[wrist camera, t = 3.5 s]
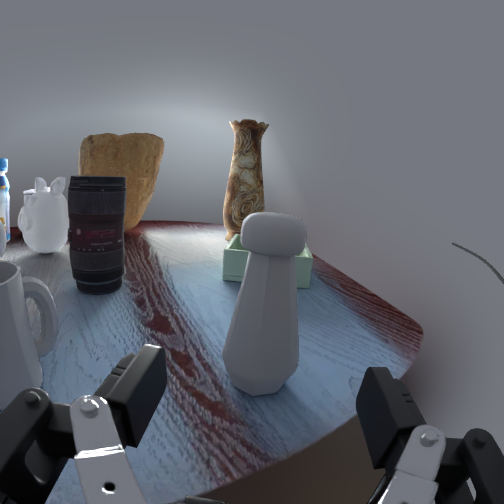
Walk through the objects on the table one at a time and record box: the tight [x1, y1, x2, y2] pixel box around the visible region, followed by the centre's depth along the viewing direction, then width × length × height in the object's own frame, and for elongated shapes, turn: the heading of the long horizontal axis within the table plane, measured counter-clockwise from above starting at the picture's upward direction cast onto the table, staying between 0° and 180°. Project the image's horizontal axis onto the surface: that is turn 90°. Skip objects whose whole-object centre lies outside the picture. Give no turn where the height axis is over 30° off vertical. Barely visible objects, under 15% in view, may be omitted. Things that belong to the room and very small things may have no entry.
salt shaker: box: [222, 212, 307, 396], centre depth 20 cm, size 6×6×13 cm
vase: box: [223, 119, 269, 241], centre depth 72 cm, size 10×11×30 cm
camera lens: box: [67, 176, 127, 294], centre depth 35 cm, size 8×8×15 cm
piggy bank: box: [18, 177, 69, 253], centre depth 46 cm, size 12×12×15 cm
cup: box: [0, 260, 58, 411], centre depth 15 cm, size 7×10×9 cm
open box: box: [222, 234, 313, 288], centre depth 50 cm, size 13×13×5 cm
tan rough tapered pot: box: [78, 133, 164, 231], centre depth 68 cm, size 22×22×25 cm
